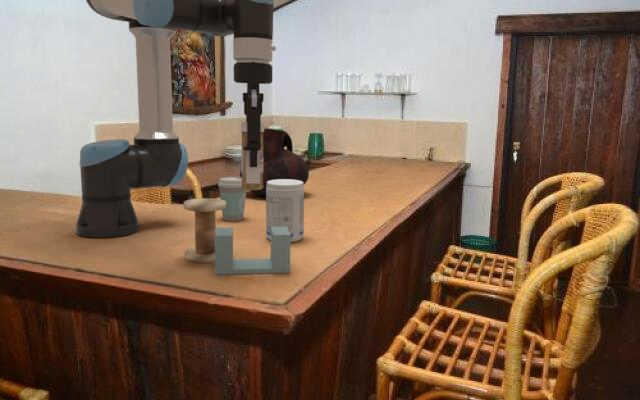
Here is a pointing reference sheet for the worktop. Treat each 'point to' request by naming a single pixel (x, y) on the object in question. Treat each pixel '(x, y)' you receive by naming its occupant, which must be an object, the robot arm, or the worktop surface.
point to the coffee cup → (232, 198)
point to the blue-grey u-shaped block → (252, 266)
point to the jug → (280, 160)
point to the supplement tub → (285, 207)
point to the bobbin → (203, 228)
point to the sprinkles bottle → (243, 159)
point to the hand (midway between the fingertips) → (252, 181)
